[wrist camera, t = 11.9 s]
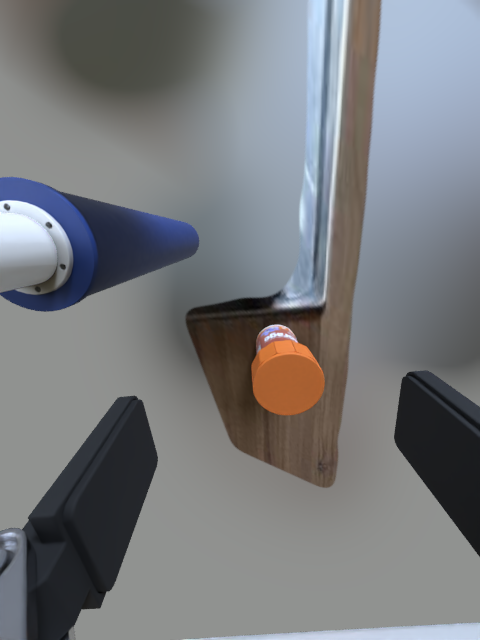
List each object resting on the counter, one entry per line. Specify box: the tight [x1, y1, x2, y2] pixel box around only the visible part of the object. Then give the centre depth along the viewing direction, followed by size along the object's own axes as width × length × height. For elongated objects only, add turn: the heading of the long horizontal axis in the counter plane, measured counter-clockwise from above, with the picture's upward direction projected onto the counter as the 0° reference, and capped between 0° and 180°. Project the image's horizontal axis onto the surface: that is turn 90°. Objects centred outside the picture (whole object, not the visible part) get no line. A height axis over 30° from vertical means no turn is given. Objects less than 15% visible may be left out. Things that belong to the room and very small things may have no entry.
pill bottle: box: [256, 325, 298, 353], centre depth 32 cm, size 6×6×11 cm
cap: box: [251, 340, 325, 415], centre depth 28 cm, size 8×8×4 cm
